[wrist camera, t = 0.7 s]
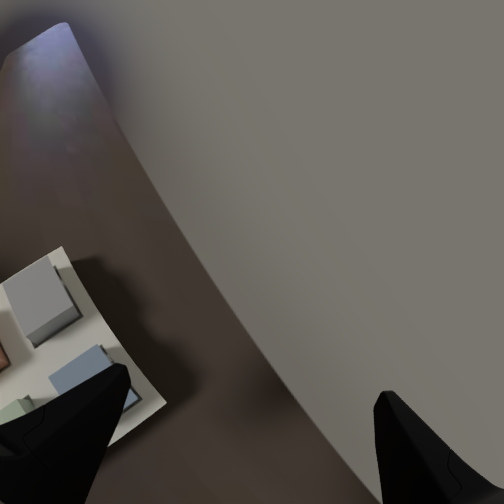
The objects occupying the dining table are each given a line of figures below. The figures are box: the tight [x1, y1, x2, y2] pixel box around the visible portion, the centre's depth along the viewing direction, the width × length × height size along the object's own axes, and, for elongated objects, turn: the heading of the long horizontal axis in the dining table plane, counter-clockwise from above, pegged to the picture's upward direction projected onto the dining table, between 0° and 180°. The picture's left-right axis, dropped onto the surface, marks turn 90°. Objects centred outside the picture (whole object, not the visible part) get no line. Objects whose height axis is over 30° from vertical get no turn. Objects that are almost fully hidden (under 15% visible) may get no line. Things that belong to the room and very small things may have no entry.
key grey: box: [2, 255, 79, 345], centre depth 17 cm, size 4×4×3 cm
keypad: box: [0, 246, 167, 446], centre depth 16 cm, size 15×15×3 cm
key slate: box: [48, 344, 138, 409], centre depth 16 cm, size 4×4×3 cm
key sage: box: [0, 399, 35, 425], centre depth 11 cm, size 4×4×3 cm
